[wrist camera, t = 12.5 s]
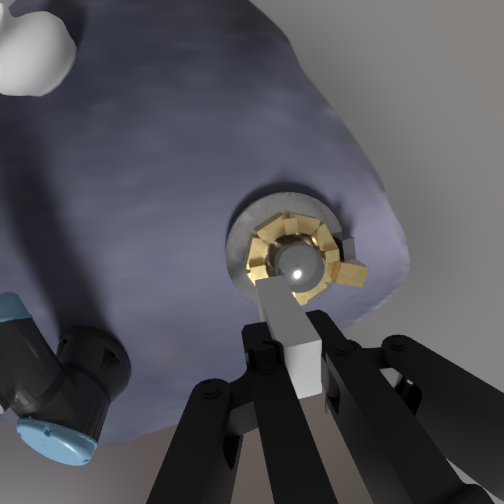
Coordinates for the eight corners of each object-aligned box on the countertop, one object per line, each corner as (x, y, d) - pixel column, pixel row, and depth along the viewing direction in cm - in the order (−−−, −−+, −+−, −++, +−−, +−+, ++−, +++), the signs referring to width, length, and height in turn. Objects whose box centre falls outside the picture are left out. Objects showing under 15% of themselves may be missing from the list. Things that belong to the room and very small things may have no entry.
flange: (322, 310, 47) (342, 337, 38) (216, 296, 44) (216, 325, 35) (351, 206, 42) (381, 215, 34) (238, 179, 39) (245, 181, 31)
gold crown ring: (361, 228, 41) (378, 235, 36) (339, 302, 44) (352, 316, 39) (256, 204, 38) (262, 208, 33) (238, 288, 41) (241, 302, 36)
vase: (53, 112, 32) (-28, 90, 13) (8, 93, 29) (-63, 75, 10) (98, 38, 30) (43, -20, 11) (47, 26, 26) (-8, -16, 7)
